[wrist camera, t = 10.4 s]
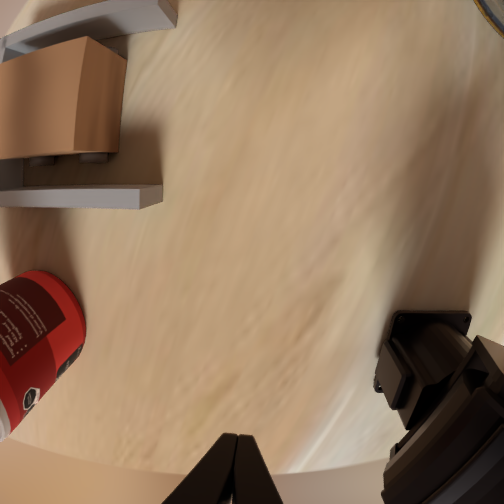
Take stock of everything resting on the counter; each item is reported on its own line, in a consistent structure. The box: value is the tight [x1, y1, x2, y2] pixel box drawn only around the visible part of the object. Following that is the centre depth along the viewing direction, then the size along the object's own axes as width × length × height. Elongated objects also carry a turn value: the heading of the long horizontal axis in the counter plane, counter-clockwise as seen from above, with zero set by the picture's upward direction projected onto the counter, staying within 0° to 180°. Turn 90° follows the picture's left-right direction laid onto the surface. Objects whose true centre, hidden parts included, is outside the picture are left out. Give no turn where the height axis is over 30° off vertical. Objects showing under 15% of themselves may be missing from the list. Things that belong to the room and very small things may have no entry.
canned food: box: [0, 271, 86, 442], centre depth 16 cm, size 8×8×11 cm
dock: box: [0, 0, 178, 209], centre depth 16 cm, size 12×12×4 cm
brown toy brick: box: [0, 36, 127, 166], centre depth 15 cm, size 7×7×5 cm
